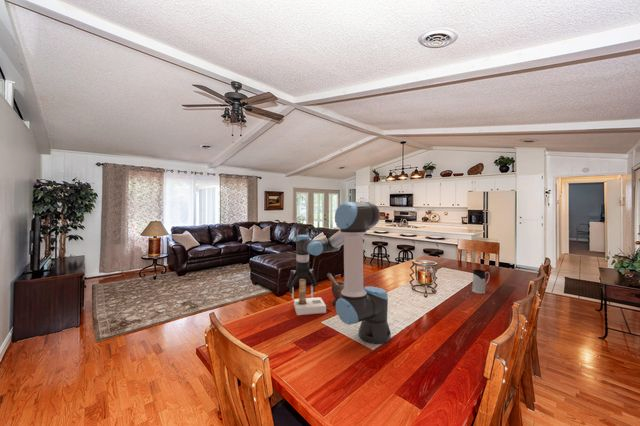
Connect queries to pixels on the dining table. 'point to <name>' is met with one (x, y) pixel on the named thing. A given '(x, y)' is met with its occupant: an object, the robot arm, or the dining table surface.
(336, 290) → the mortar and pestle
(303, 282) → the leg peg
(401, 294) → the dining table surface
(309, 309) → the board
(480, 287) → the grey mug
